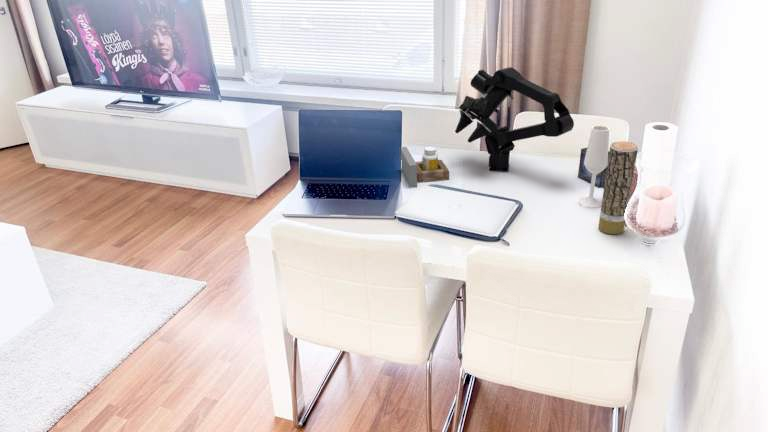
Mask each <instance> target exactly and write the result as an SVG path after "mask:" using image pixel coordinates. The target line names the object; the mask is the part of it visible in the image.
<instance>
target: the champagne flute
mask: <svg viewBox="0 0 768 432" xmlns="http://www.w3.org/2000/svg"><path fill="white" fill-rule="evenodd" d="M609 137H610V128H609V127H608V126H606V125H593V126H592V127H591V129H590V135H589V139H588V144H587V147H586V148H587V151H586V156H585V160H584V165H585V167H586V169H587V170H588V171H589V172H590V173H592V179H591V183H590V187H589V194H588V196H587V197H584V198H582V199H581V198H580V199H579V200H578V203H579V205H581V206H583V207H585V208H599V207H601V205H602V201H600V200H598V199H596V198H595V197H594V193H595V187H596V186H595V180H596V174H598V173H600V172H601V171H603V170H604V169H605V168H606V167H607V165H608V151H609V144H610V143H609V141H610V139H609Z"/></svg>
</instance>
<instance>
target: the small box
mask: <svg viewBox="0 0 768 432" xmlns="http://www.w3.org/2000/svg"><path fill="white" fill-rule="evenodd" d="M586 151H587V147H584V148H581V149H580V156H579V164H578V165H579V166H578V174H577V177H578V179H581V180H582V181H585V182H587V183H589V184H591V179H592V173H590V172H589V171H588V170H587V169H586V167H585V165H584V160H585V156H586ZM609 151H610V150H608V158H609ZM606 172H607V167H606V168H605V169H604V170H603V171H601V172H600V173H598V174H596V180H595V187H597V188H598V189H600V188H604V185H605V178H606Z"/></svg>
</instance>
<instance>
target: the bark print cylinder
mask: <svg viewBox="0 0 768 432" xmlns="http://www.w3.org/2000/svg"><path fill="white" fill-rule="evenodd" d="M638 150H639V146H638V145H637V144H636V143H633V142H630V141H622V140H621V141H613V142H611V143H610V146H609V150H608V151H609V158H608V165H607V172H606V178H605V185H604V187H603V193H602V198H601V199H602V201H601V203H602V205H601V206H600V213H599V221H598V229H599V230H600V231H601V232H603V233H605V234H609V235H619V234H622V233H623V232H624V230H625V225H626V221H625V220H624V213H625V209H626V207H627V204H628V202H629V203H630V198H631V197H630V196H631V192H632V185H633V180H634V174H635V168H636V162H637V156H638ZM628 205H629V204H628Z"/></svg>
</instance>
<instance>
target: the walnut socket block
mask: <svg viewBox="0 0 768 432" xmlns="http://www.w3.org/2000/svg"><path fill="white" fill-rule="evenodd" d="M415 162H416V164H417V184H420V183H431V182H439V181H442V182H443V181H449V180H450V170H449V168H448V166H446V165H445V162H444V161H443V160H442V159H438V170H429V171H422V161H415Z"/></svg>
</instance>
